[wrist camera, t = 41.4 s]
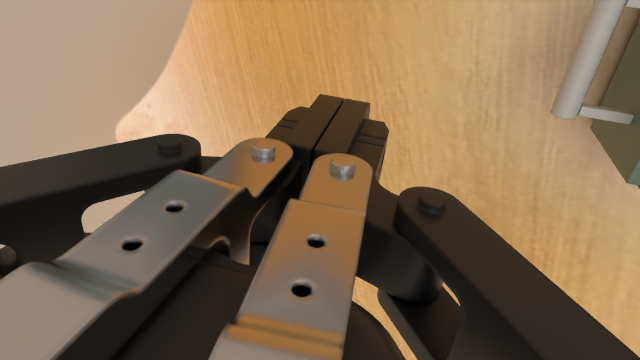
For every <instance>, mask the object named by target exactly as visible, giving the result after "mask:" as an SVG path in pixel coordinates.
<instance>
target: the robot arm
mask: <svg viewBox="0 0 640 360" xmlns="http://www.w3.org/2000/svg"><path fill="white" fill-rule="evenodd" d="M369 113H370V103H367V102H362V101H356V100H351V99H344V98H339V97H334V96H328V95H323V94H320V95H319V96H318V97H317V99H316V100H315V101H314V103H313V104H312V105H311V106H310V108H306V107H301V106H300V107H298V108H295V109H293V110H290V111H288V112H287V113H286V115H285V116H284V117H283V118H282V120H280V121H279V122H278V124H277V126H275V127H274V128H273V129H272V130H271V131H270V133H269V134H268V135H267V136H266V137H265V138H253V139H248V140H245V141H243V142H240V143H239V144H238V145H236V146H235V147H234V148H233V149H232V150H230V151H229V152H228V153H227V154H226V155H224V156H223V157H208V156H201V145H200V143H199V141H198V140H196V139H195V138H193V137H190V136H187V135H182V134H163V135H158V136H153V137H148V138H143V139H138V140H133V141H128V142H123V143H118V144H113V145H108V146H103V147H98V148H94V149H88V150H83V151H78V152H73V153H68V154H63V155H58V156H54V157H48V158H43V159H38V160H33V161H28V162H23V163H18V164H13V165H8V166H4V167H0V244H3V245H6V246H5V247H3V248H1V249H0V360H406V359H405V358H404V356H403V354H402V353H401V351H400V350H399V348H398V346H397V345H396V343H395V341H394V340H393V338H392V337H391V335H390V334H389V333H388V331H387V330H386V329H385V328H384V327H383V325H382V324H381V323H380V322H379V321H378V320H377V319H376V318H375V317H374V316H373V315H372V314H370V313H369V312H368V311H367V310H365V309H364V308H363V307H361V306H360V305H358V304H356V303H355V302H353V301H352V295H353V289H354V283H355V277H356V276H357V277H359V278H361V279H363V280H364V281H366V282H368V283H370V284H372V285H374V286H376V287H377V288H378V293H377V296H378V300H379V303H380V304H381V306H382V308H383V309H384V311H385V312H386V313H387V315H388V316H389V318H390V319H391V321H392V322H393V324H394V325H395V327H396V328H397V330H398V331H399V333H400V334H401V336H402V337H403V339H404V340H405V342H406V343H407V344H408V346H409V347H410V349H411V350H412V352H413V353H414V355H415V356H416V358H417V359H418V360H640V358H639V357H638V356H637V355H636V354H635V353H634V352H633V351H631V350H630V349H629V348H628V347H627V346H626V345H625V344H623V343H622V342H621V341H620V340H619V339H618V338H616V337H615V336H614V335H613V334H612V333H611V332H610V331H608V330H607V329H606V328H605V327H604V326H603V325H602V324H600V323H599V322H598V321H597V320H596V319H595V318H593V317H592V316H591V315H590V314H589V313H588V312H587V311H585V310H584V309H583V308H582V307H581V306H580V305H579V304H577V303H576V302H575V301H574V300H573V299H572V298H570V297H569V296H568V295H567V294H566V293H565V292H564V291H562V290H561V289H560V288H559V287H558V286H557V285H556V284H554V283H553V282H552V281H551V280H550V279H549V278H547V277H546V276H545V275H544V274H543V273H542V272H541V271H539V270H538V269H537V268H536V267H535V266H534V265H533V264H531V263H530V262H529V261H528V260H527V259H526V258H524V257H523V256H522V255H521V254H520V253H519V252H518V251H516V250H515V249H514V248H513V247H512V246H511V245H510V244H508V243H507V242H506V241H505V240H504V239H503V238H501V237H500V236H499V235H498V234H497V233H496V232H495V231H493V230H492V229H491V228H490V227H489V226H488V225H487V224H485V223H484V222H483V221H482V220H481V219H480V218H478V217H477V216H476V215H475V214H474V213H473V212H472V211H470V210H469V209H468V208H467V207H466V206H465V205H464V204H462V203H461V202H460V201H459V200H458V199H456V198H455V197H454V196H452V195H450V194H448V193H446V192H444V191H441V190H438V189H435V188H430V187H412V188H408V189H406V190H404V191H403V192H401V194H400V195H399V196H398V195H395V194H393V193H391V192H389V191H388V190H386V189H385V188H383V187H382V186H381V185H380V184H379V183H378V182H379V179H380V175H381V170H382V164H383V159H384V154H385V149H386V143H387V138H388V133H389V130H388V128H387V126H386V125H385V123H384V122H381V121H375V120H370V119H369ZM143 190H145V193H144V194H142V195H141V196H140V197H138V198H137V199H136V200H135V201H133V202H132V203H131V204H129V205H128V206H127V207H125V208H124V209H123V210H121V211H120V212H119V213H117V214H116V215H115V216H114V217H112V218H111V219H109V220H108V221H107V222H105V223H104V224H103V225H101V226H100V227H99V228H98V229H96V230H95V231H94V232H92V233H85V232H84V230H83V227H82V222H81V217H82V214H83V212H84V211H85V210H86V209H87V208H88V207H89V206H91V205H93V204H95V203H98V202H102V201H105V200H109V199H113V198H116V197H120V196H124V195H128V194H132V193H136V192H139V191H143ZM443 282H444V283H445V284H446V285H447V286H448V287H449V288H450V290H451V291H452V292H453V293H454V294H455V296H456V297H457V299H458V301H459V303H460V306H461V307H460V306H459V305H458V303H457V302H456V301H455V300H454V299H453V298H452V297H451V295H450V294H449V293H448V292H447V291H446V290H445V288H444V287H443V286H442V284H443Z"/></svg>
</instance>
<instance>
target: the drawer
mask: <svg viewBox="0 0 640 360" xmlns="http://www.w3.org/2000/svg"><path fill="white" fill-rule="evenodd" d="M624 6H625V7H630V8H638V9H640V0H594V2H593V5H592V7H591V10H590V12H589V15H588V17H587V20H586V22H585V25H584V27H583V30H582V32H581V35H580V38H579V40H578V43H577V45H576V48H575V50H574V53H573V55H572V58H571V60H570V63H569V65H568V68H567V71H566V73H565V76H564V78H563V81H562V83H561V86H560V88H559V91H558V93H557V96H556V98H555V101H554V103H553V106H552V109H551V114H553V115H554V116H556V117H559V118H563V119H570V120H572V119H575V118H576V116H577V114H578V116H583V117H589V118H594V120H593V123H592V125H591V127H590V128H591V130H592V131H593V133H594V134H595V136H596V137H597V139H598V140H599V142H600V143H601V145H602V146H603V148H604V149H605V151H606V152H607V154H608V155H609V157H610V159H611V160H612V162H613V163H614V165H615V166H616V168H617V169H618V171H619V172H620V174H621V175H622V177H623V178H624V180H625V181H626V183H629V184H634V185H640V20H639V22H638V24H637V26H636V28H635V31H634V33H633V35H632V37H631V39H630V41H629V44H628V46H627V48H626V50H625V52H624V55H623V57H622V59H621V61H620V63H619V66H618V68H617V70H616V72H615V74H614V77H613V79H612V81H611V83H610V85H609V88H608V90H607V92H606V94H605V96H604V99H603V101H602V103H601V105H600V106H595V105H589V104H583V103H582V102H583V100H584V98H585V95H586V93H587V91H588V88H589V86H590V84H591V82H592V79H593V77H594V75H595V72H596V70H597V68H598V65H599V63H600V61H601V58H602V56H603V54H604V51H605V49H606V47H607V44H608V42H609V40H610V37H611V35H612V33H613V30H614V28H615V26H616V24H617V21H618V19H619V17H620V14H621V12H622V10H623V7H624Z"/></svg>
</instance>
